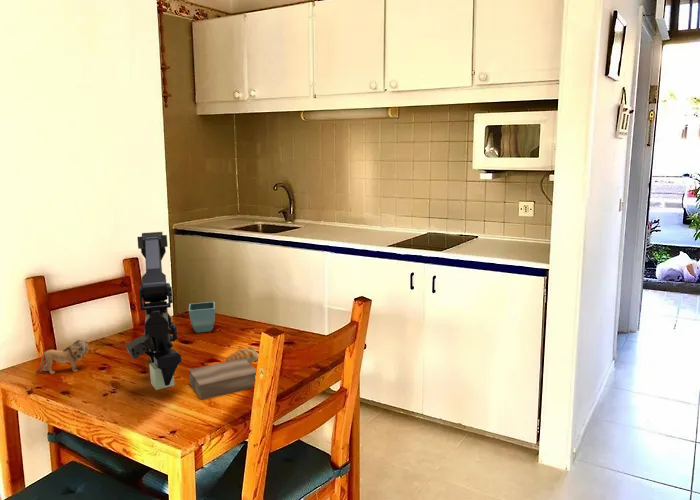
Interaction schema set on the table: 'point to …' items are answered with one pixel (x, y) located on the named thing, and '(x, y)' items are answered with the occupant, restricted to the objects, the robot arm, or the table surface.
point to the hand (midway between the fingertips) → (162, 379)
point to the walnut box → (222, 378)
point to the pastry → (244, 355)
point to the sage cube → (158, 377)
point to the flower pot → (202, 316)
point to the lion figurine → (65, 355)
